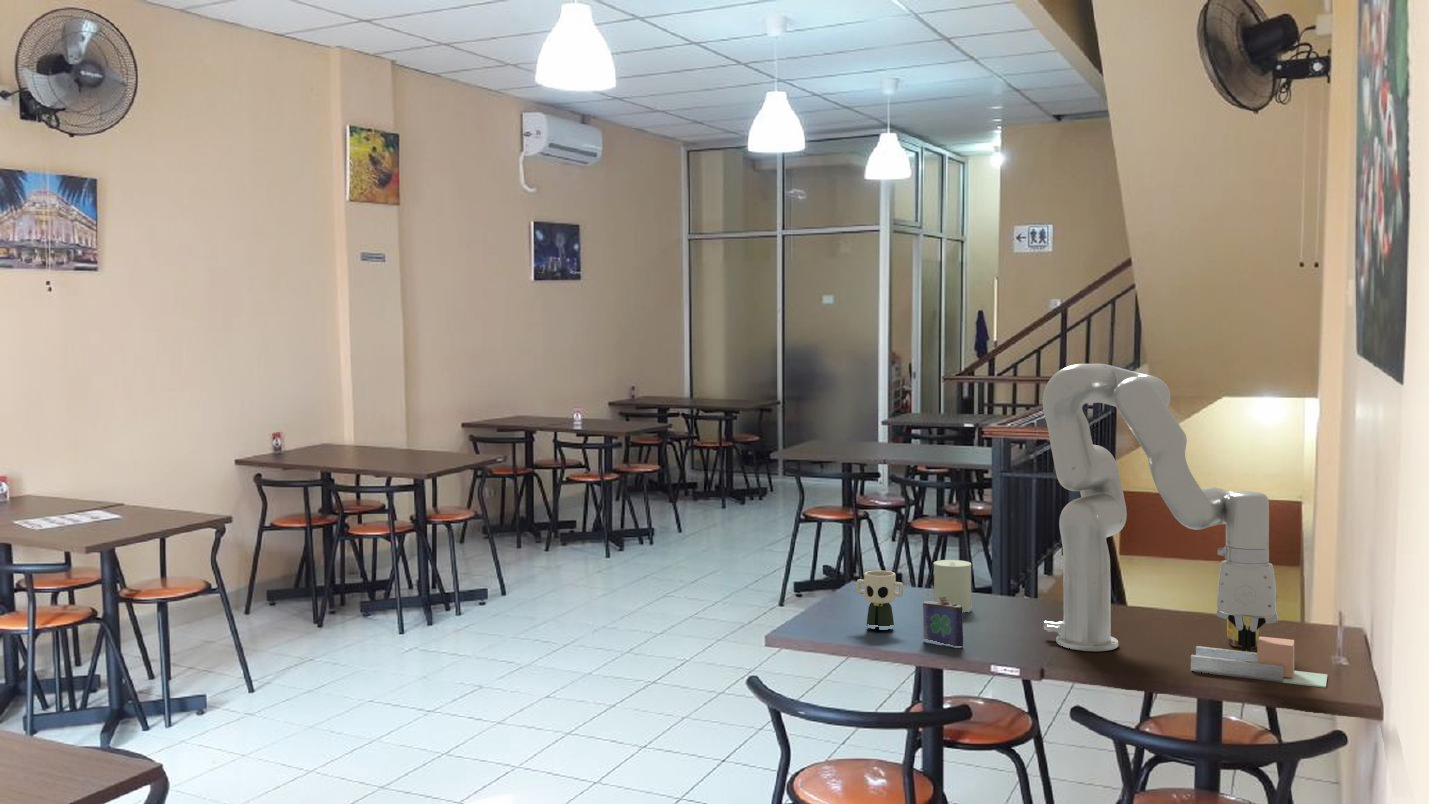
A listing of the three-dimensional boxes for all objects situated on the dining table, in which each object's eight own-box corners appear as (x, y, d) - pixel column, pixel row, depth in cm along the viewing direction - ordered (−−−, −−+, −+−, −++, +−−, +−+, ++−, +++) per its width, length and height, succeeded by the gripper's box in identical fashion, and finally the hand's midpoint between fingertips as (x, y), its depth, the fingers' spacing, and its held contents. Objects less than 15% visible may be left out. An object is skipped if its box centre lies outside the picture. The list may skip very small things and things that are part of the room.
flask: (921, 643, 238) (920, 594, 238) (927, 640, 240) (927, 591, 240) (959, 649, 232) (959, 599, 232) (966, 646, 234) (966, 597, 234)
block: (1257, 673, 209) (1257, 642, 209) (1259, 666, 213) (1259, 636, 213) (1292, 677, 206) (1292, 645, 206) (1294, 670, 210) (1294, 639, 210)
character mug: (852, 631, 249) (852, 574, 249) (862, 624, 256) (861, 568, 255) (899, 635, 245) (898, 577, 244) (907, 628, 251) (907, 572, 251)
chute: (1190, 671, 213) (1190, 656, 213) (1196, 660, 221) (1196, 645, 221) (1283, 682, 205) (1283, 666, 205) (1286, 671, 213) (1286, 655, 213)
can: (934, 613, 265) (933, 564, 265) (933, 605, 274) (932, 557, 274) (973, 614, 264) (972, 564, 263) (970, 605, 273) (970, 558, 273)
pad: (1283, 682, 205) (1283, 681, 205) (1286, 671, 213) (1286, 669, 213) (1325, 687, 202) (1325, 686, 202) (1327, 675, 209) (1327, 674, 209)
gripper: (1202, 556, 212) (1202, 649, 213) (1289, 562, 204) (1289, 659, 205) (1207, 550, 219) (1207, 641, 219) (1292, 555, 211) (1291, 650, 212)
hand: (1247, 649), depth 212 cm, fingers closed
